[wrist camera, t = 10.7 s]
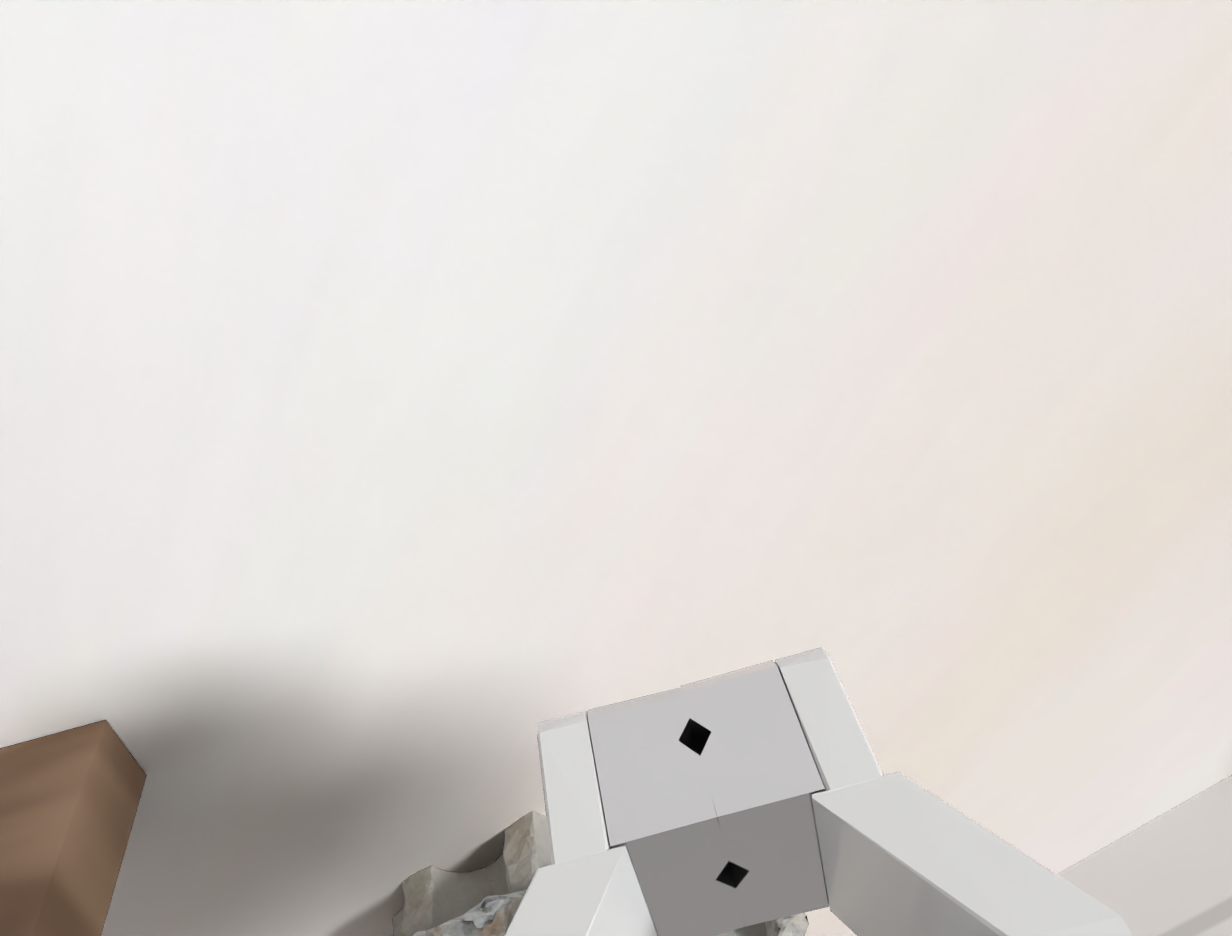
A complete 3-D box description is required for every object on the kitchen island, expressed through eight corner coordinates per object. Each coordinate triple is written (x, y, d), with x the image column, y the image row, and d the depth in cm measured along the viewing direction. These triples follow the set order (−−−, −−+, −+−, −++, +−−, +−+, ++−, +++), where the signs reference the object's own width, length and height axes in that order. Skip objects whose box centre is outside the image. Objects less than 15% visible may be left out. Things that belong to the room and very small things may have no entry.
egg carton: (690, 712, 27) (729, 842, 24) (794, 856, 31) (841, 985, 28) (348, 881, 28) (338, 1027, 25) (490, 997, 33) (499, 1137, 29)
